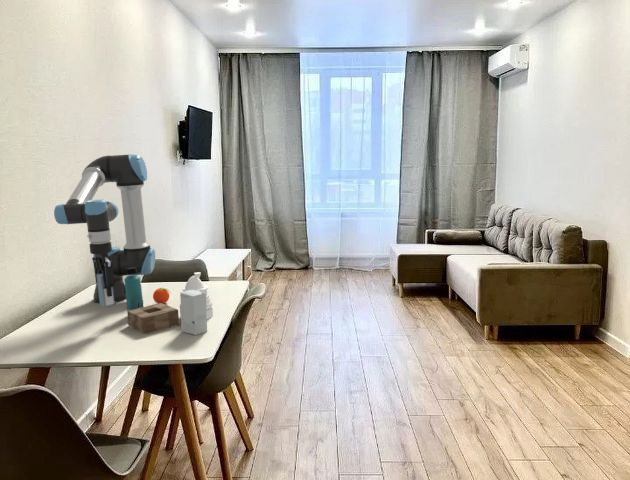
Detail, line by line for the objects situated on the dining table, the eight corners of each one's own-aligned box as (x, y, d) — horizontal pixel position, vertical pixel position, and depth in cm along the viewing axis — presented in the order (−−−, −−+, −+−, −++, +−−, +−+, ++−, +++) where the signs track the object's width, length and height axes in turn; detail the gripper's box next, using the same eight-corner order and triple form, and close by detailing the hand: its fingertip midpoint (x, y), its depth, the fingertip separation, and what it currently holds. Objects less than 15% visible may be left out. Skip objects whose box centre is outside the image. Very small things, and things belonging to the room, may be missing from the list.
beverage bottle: (139, 318, 226) (134, 269, 223) (124, 317, 228) (119, 269, 224) (147, 313, 233) (142, 265, 229) (132, 313, 234) (128, 265, 231)
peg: (100, 305, 212) (96, 274, 210) (110, 302, 214) (106, 272, 212) (104, 307, 209) (100, 275, 207) (114, 304, 212) (111, 273, 209)
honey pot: (219, 313, 228) (216, 270, 225) (200, 323, 217) (196, 277, 214) (193, 310, 233) (190, 268, 230) (173, 320, 222) (169, 275, 219)
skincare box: (181, 331, 207) (178, 292, 205) (194, 327, 212) (191, 288, 209) (195, 335, 202) (192, 295, 199) (209, 331, 206) (206, 291, 204)
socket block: (128, 325, 217) (127, 310, 216) (162, 317, 226) (160, 302, 225) (144, 333, 206) (143, 318, 205) (179, 324, 216) (177, 309, 215)
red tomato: (174, 301, 249) (173, 285, 248) (169, 305, 243) (167, 289, 241) (157, 301, 250) (155, 286, 249) (151, 306, 243) (149, 290, 242)
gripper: (81, 241, 211) (88, 301, 215) (98, 246, 199) (106, 310, 203) (101, 238, 216) (108, 296, 220) (119, 243, 203) (126, 305, 208)
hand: (107, 303), depth 212 cm, fingers closed on peg, 4 cm apart
